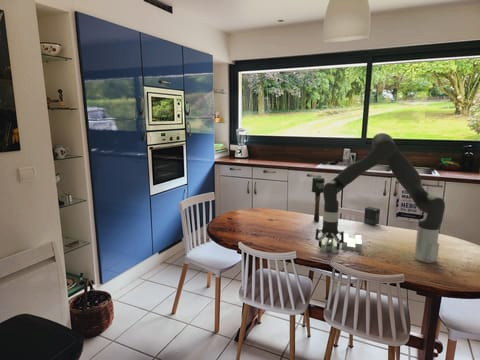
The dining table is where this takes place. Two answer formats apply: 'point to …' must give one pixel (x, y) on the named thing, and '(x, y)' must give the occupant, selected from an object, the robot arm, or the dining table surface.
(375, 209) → the box
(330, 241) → the axle
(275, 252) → the dining table surface
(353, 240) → the bore block
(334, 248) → the cradle
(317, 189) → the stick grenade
